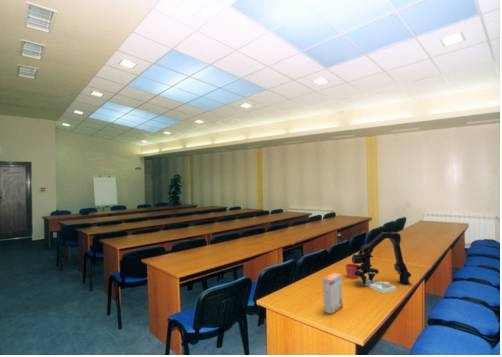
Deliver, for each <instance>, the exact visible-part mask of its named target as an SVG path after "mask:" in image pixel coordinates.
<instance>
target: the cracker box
mask: <svg viewBox="0 0 502 357" xmlns="http://www.w3.org/2000/svg"><path fill="white" fill-rule="evenodd" d="M321 279H322V293H323V294H322V295H323V296H322V297H323V312H324V313H327V314H329V315H333V314H335V313H337V312H338V311H339V310H340V309H341V308H344V307H343V306H344V302H343V286H342V285H343V284H342V283H343V281H342V274H341V273H337V272H332V273H330V274H328V275H326V276H324V277H323V278H321Z"/></svg>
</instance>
